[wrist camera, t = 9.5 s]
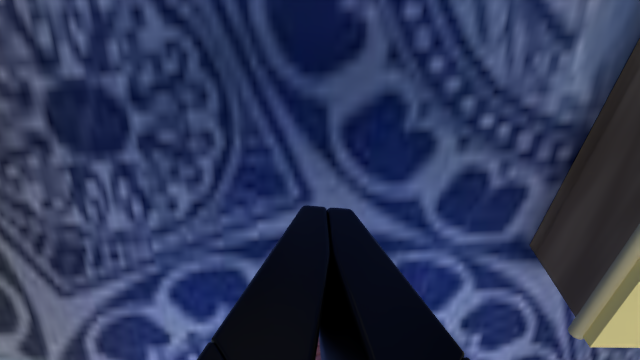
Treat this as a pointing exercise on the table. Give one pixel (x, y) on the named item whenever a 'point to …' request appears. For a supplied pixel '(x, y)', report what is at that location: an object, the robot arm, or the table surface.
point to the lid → (614, 303)
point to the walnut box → (596, 197)
